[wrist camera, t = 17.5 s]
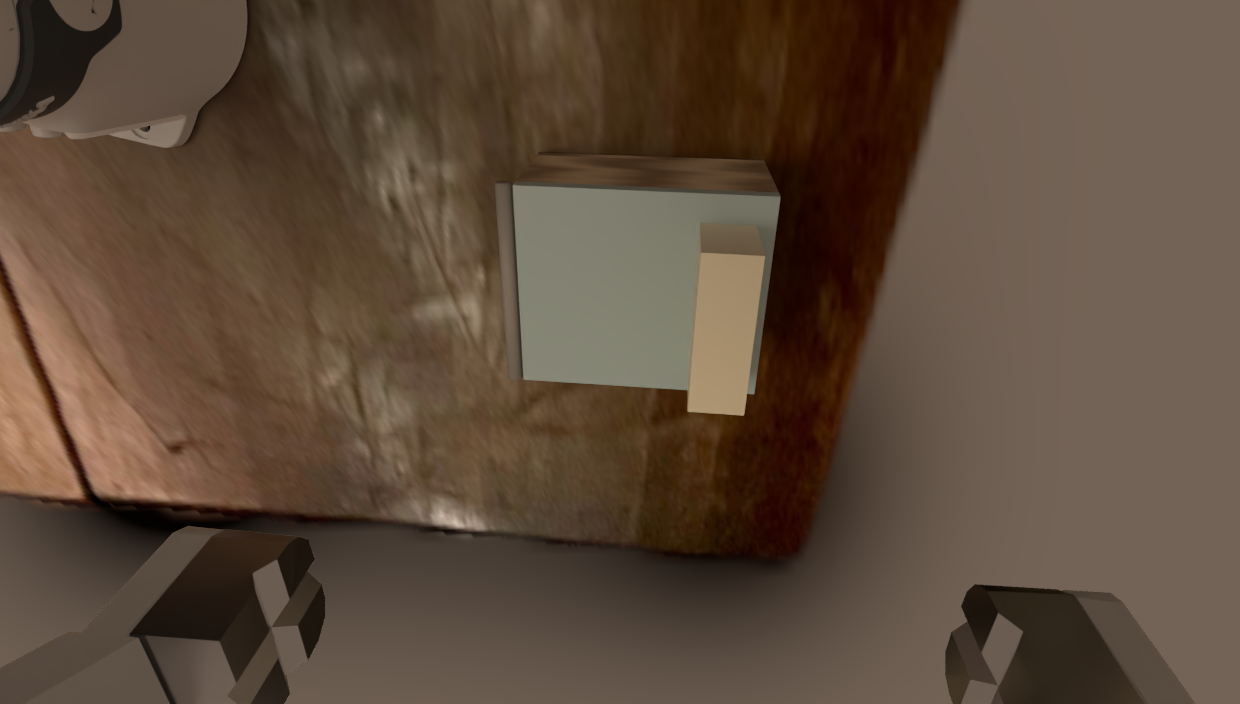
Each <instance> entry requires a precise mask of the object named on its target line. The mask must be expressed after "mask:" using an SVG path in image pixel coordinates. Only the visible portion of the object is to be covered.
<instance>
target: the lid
mask: <svg viewBox="0 0 1240 704" xmlns="http://www.w3.org/2000/svg"><path fill="white" fill-rule="evenodd" d="M495 197H496V211H497V225H498V239H499V254H500V268H501V282H502V297H503V311H504V325H505V339H506V354H507V368H508V378H509V379H512V380H518V379H521V378H522V377H523V374H524V380H538V381H553V382H569V383H585V384H601V385H616V386H632V387H648V388H664V389H679V390H688V361H689V349H690V336H691V324H692V312H693V300H694V288H695V275H696V263H697V251H698V239H699V226H700V223H712V224H732V225H752V226H757V228H758V231H759V235H760V239H761V242H762V246H763V250H764V253H765V261H764V269H763V276H762V284H761V291H760V299H759V306H758V314H757V322H756V329H755V337H754V344H753V352H752V359H751V367H750V374H749V382H748V389H747V394H754V392H755V384H756V377H757V369H758V362H759V354H760V347H761V340H762V332H763V325H764V317H765V310H766V302H767V295H768V287H769V280H770V273H771V265H772V258H773V250H774V243H775V235H776V228H777V220H778V213H779V206H780V198H781V196H780V194H779V193H777V192H754V191H731V190H707V189H684V188H661V187H637V186H614V185H591V184H568V183H544V182H521V181H516V182H515V183H514V184H513V198H512V182H510V181H497V182H495ZM513 199H514V215H513ZM514 217H515V232H514ZM515 234H516V250H515ZM516 252H517V267H516ZM517 269H518V284H517ZM518 287H519V301H518ZM519 304H520V319H519ZM520 322H521V336H520ZM521 339H522V353H521ZM522 356H523V370H522Z"/></svg>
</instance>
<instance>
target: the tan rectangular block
mask: <svg viewBox="0 0 1240 704" xmlns="http://www.w3.org/2000/svg"><path fill="white" fill-rule="evenodd" d="M764 261H765V253H764V250H763V246H762V242H761V239H760V235H759V231H758V228H757V226H752V225H732V224H712V223H700V226H699V239H698V251H697V263H696V275H695V288H694V300H693V312H692V324H691V336H690V349H689V361H688V412H700V413H715V414H729V415H744V412H745V404H746V397H747V389H748V382H749V374H750V367H751V359H752V352H753V344H754V337H755V329H756V322H757V314H758V306H759V299H760V291H761V284H762V276H763V269H764Z"/></svg>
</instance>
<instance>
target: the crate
mask: <svg viewBox="0 0 1240 704" xmlns="http://www.w3.org/2000/svg"><path fill="white" fill-rule="evenodd" d="M517 181H521V182H544V183H568V184H591V185H614V186H637V187H661V188H684V189H707V190H731V191H754V192H777V193H778V189H777V187H776V185H775V183H774V181H773V179H772V176H771V174H770V172H769V170H768V168H767V166H766V163H765V161H764V160H737V159H710V158H683V157H656V156H629V155H602V154H575V153H548V152H539V154H538V155H537V156H536V157H535V159H534V160H533V161H532V162H531V164H530V165H529V166H528V167H527V168H526V170H525V171H524V172H523V173H522V175H521V176H520V177H519V178H518V180H517Z"/></svg>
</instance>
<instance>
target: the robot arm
mask: <svg viewBox="0 0 1240 704" xmlns="http://www.w3.org/2000/svg"><path fill="white" fill-rule="evenodd" d="M246 34H247V2H246V0H0V132H11V131H19V130H23V129H25V128H26V125H27V124H29V125H30V129H31V132H32V134H33V135H34V136H37V137H44V138H54V137H60V136H62V135H63V133H65V134H66V135H67V136H68V137H69V138H70V139H86V138H92V137H97V136H102V135H110V136H115V137H119V138H123V139H127V140H132V141H136V142H140V143H144V144H149V145H153V146H157V147H162V148H170V147H177V146H181V145H183V144H184V143H185V142H186V141H187V140H188V138H189V137H190V134H191V132H192V130H193V127H194V124H195V121H196V118H197V115H198V112H199V110H200V109H201V108H202V106H203V105H204V104H205V103H206V102H207V101H208V100H210V99H211V98H212V97H213V96H214V95H216V94H217V93H218V92H219V91H220V90H221V89H222V88H223V87H224V86H225V85H226V84H227V82H228V81H229V80H230V78H231V77H232V75H233V74H234V72H235V70H236V68H237V66H238V64H239V61H240V59H241V56H242V53H243V50H244V45H245V40H246ZM147 126H150V129H149V128H148V127H147ZM314 560H315V557H314V554H313V551H312V548H311V545H310V542H309V540H308V539H305V538H302V537H299V536H288V535H278V534H268V533H257V532H248V531H238V530H226V529H225V530H220V529H210V528H199V527H189V526H187V527H185V528H183V529H181V530H179V531H176V532H174V533H173V534H172V535H171V536H170V537H169V538H168V539H167V540H166V541H165V542H164V543H163V544H162V545H161V547H160V548H159V549H158V550H157V551H156V552H155V553H154V554H153V555H152V556H151V557H150V558H149V560H148V561H147V562H146V563H145V564H144V565H143V566H142V567H141V568H140V569H139V570H138V571H137V572H136V574H135V575H134V576H133V577H132V578H131V579H130V580H129V581H128V582H127V583H126V584H125V585H124V586H123V588H122V589H121V590H120V591H119V592H118V593H117V594H116V595H115V596H114V597H113V598H112V599H111V600H110V602H109V603H108V604H107V605H106V606H105V607H104V608H103V609H102V610H101V611H100V612H99V613H98V615H97V616H96V617H95V618H94V619H93V620H92V621H91V622H90V623H89V624H88V625H87V627H85V629H84V630H83V631H82V632H67V633H65V634H63V635H61V636H59V637H57V638H55V639H53V640H51V641H50V642H48V643H46V644H44V645H42V646H40V647H39V648H36V649H35V650H33V651H31V652H29V653H27V654H25V655H24V656H22V657H20V658H18V659H16V660H14V661H12V662H10V663H8V664H7V665H5V666H3V667H1V668H0V704H284V703H285V702H286V700H287V698H288V696H289V694H290V691H289V685H288V680H287V675H289V674H290V673H291V672H293V671H294V670H296V669H297V668H298V667H300V666H301V665H303V664H304V663H305V662H307V661H308V660H309V658H310V656H311V654H312V652H313V650H314V648H315V646H316V644H317V642H318V641H319V637H320V634H321V630H322V626H323V623H324V619H325V595H324V591H323V587H322V584H321V583H320V582H319V581H318V580H317V579H315V578H314V577H313V576H312V575H311V574H310V573H309V572H308V569H309V568H310V566H311V564H312V563H313V561H314ZM961 607H962V610H963V612H964V615H965V617H966V619H967V622H966V623H965V624H963V625H962V626H960V627H959V628H957V629H956V630H954V631H953V632H951V635H950V639H949V642H948V645H947V648H946V652H945V675H946V680H947V685H948V690H949V695H950V697H951V700H952V703H953V704H1196V703H1195V702H1194V700H1193V699H1192V698H1191V696H1190V695H1189V693H1188V692H1187V691H1186V689H1185V688H1184V686H1183V685H1182V684H1181V682H1180V681H1179V680H1178V678H1177V677H1176V675H1175V674H1174V673H1173V671H1172V670H1171V668H1170V667H1169V666H1168V664H1167V663H1166V661H1165V660H1164V659H1163V657H1162V656H1161V654H1160V653H1159V652H1158V650H1157V649H1156V648H1155V646H1154V645H1153V643H1152V642H1151V641H1150V639H1149V638H1148V636H1147V635H1146V634H1145V632H1144V631H1143V630H1142V628H1141V627H1140V625H1139V624H1138V622H1137V621H1136V620H1135V618H1134V617H1133V616H1132V614H1131V613H1130V611H1129V610H1128V609H1127V607H1126V606H1125V604H1124V603H1123V602H1122V601H1121V600H1120V599H1118V598H1117V597H1115V596H1114V595H1113V594H1111V593H1104V592H1088V591H1073V590H1063V591H1060V590H1057V589H1043V588H1042V589H1041V588H1026V587H1010V586H1009V587H1008V586H993V585H978V584H975V585H974V586H972V587H971V588H970V589H969V590H968V591H967V593H966V595H965V598H964V600H963V603H962V605H961Z"/></svg>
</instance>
